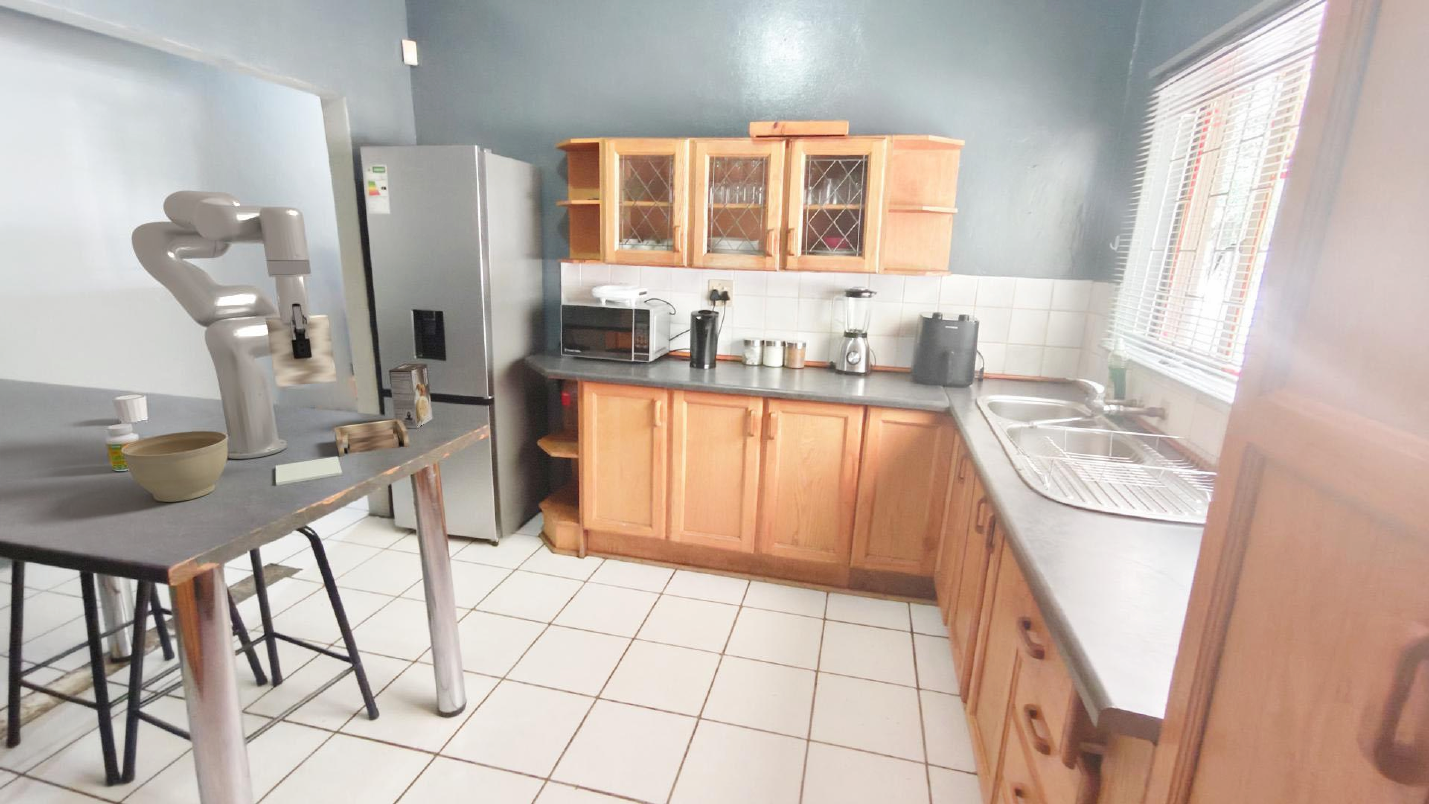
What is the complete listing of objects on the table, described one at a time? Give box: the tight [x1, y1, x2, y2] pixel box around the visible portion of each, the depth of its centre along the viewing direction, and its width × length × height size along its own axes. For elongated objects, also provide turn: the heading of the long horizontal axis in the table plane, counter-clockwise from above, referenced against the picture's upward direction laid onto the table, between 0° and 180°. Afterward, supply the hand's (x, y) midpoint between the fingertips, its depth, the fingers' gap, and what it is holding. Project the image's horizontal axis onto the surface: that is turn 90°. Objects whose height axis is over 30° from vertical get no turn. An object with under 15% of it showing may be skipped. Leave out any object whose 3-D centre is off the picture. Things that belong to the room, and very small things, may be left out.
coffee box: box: [388, 363, 434, 429], centre depth 178 cm, size 9×6×16 cm
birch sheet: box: [265, 314, 338, 388], centre depth 139 cm, size 11×4×14 cm, turn 126°
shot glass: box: [111, 393, 149, 422], centre depth 176 cm, size 7×7×7 cm
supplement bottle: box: [105, 423, 141, 470], centre depth 142 cm, size 5×5×10 cm
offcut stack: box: [346, 429, 400, 455], centre depth 159 cm, size 11×5×4 cm, turn 118°
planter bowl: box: [121, 430, 228, 503], centre depth 129 cm, size 16×16×11 cm
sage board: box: [275, 456, 343, 486], centre depth 143 cm, size 12×12×1 cm
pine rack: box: [333, 419, 410, 457], centre depth 161 cm, size 15×12×4 cm
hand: (302, 355), depth 139 cm, fingers closed on birch sheet, 4 cm apart
